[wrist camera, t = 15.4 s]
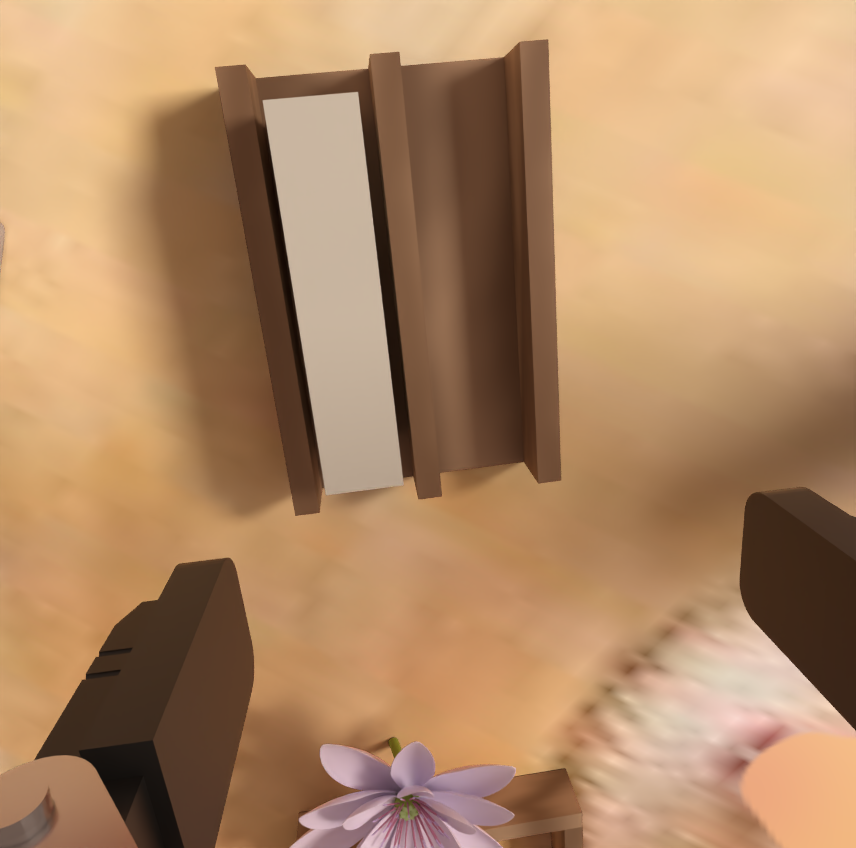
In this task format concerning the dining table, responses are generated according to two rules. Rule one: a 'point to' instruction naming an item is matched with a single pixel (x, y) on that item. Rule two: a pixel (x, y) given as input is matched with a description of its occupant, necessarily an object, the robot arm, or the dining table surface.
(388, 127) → the rack
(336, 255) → the cream rectangular block
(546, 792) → the square wooden tray
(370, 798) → the water lily
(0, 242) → the coffee box
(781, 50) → the dining table surface
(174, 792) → the robot arm
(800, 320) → the dining table surface
